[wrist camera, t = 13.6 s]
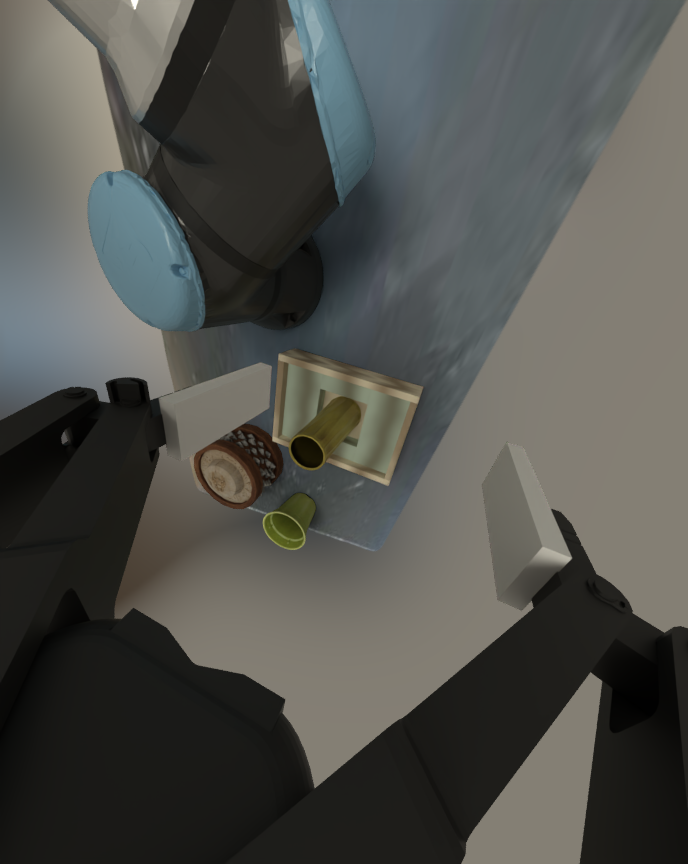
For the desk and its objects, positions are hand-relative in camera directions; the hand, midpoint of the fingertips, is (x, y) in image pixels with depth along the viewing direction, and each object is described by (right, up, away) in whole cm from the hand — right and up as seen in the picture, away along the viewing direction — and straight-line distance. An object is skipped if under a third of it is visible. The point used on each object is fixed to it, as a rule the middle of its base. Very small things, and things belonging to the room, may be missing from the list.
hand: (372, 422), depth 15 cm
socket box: (-1, +3, +33) cm, 33 cm away
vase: (-1, +3, +32) cm, 32 cm away
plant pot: (-10, -16, +47) cm, 51 cm away
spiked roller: (-21, -5, +46) cm, 50 cm away
